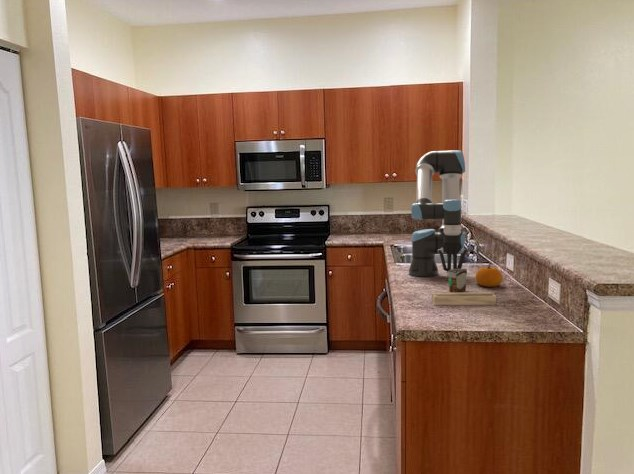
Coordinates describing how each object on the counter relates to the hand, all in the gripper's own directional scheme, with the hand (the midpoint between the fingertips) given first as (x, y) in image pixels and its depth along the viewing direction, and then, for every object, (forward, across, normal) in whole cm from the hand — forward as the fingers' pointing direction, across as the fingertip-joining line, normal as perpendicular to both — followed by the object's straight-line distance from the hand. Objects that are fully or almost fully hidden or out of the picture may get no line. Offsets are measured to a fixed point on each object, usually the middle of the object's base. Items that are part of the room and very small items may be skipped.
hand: (451, 285), depth 216 cm
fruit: (+2, +18, +7) cm, 19 cm away
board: (+2, 0, -23) cm, 23 cm away
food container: (+2, 0, -6) cm, 6 cm away
